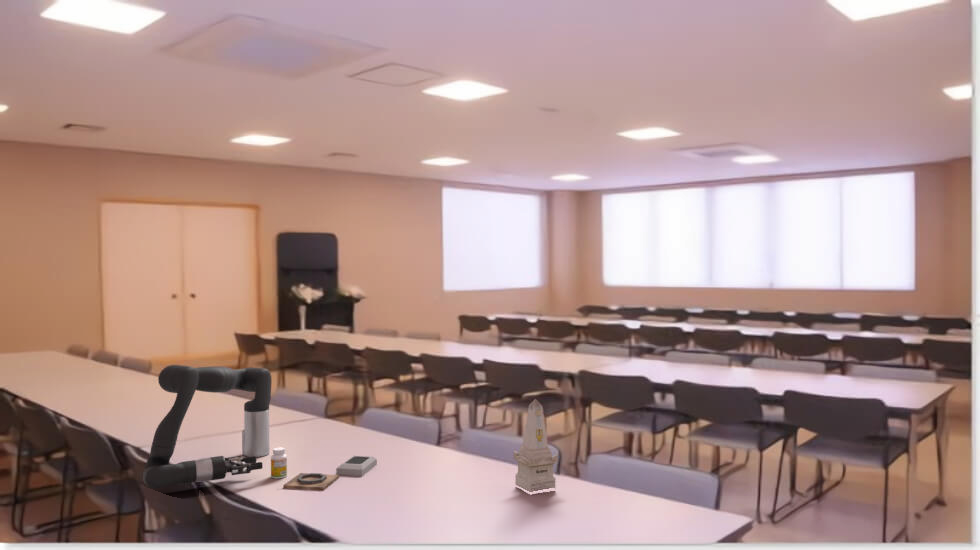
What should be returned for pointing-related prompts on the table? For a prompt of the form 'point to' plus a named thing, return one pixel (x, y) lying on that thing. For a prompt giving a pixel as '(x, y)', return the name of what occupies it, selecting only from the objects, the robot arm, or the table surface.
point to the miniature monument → (535, 454)
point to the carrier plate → (311, 481)
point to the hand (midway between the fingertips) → (259, 462)
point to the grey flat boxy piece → (356, 466)
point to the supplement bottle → (278, 463)
